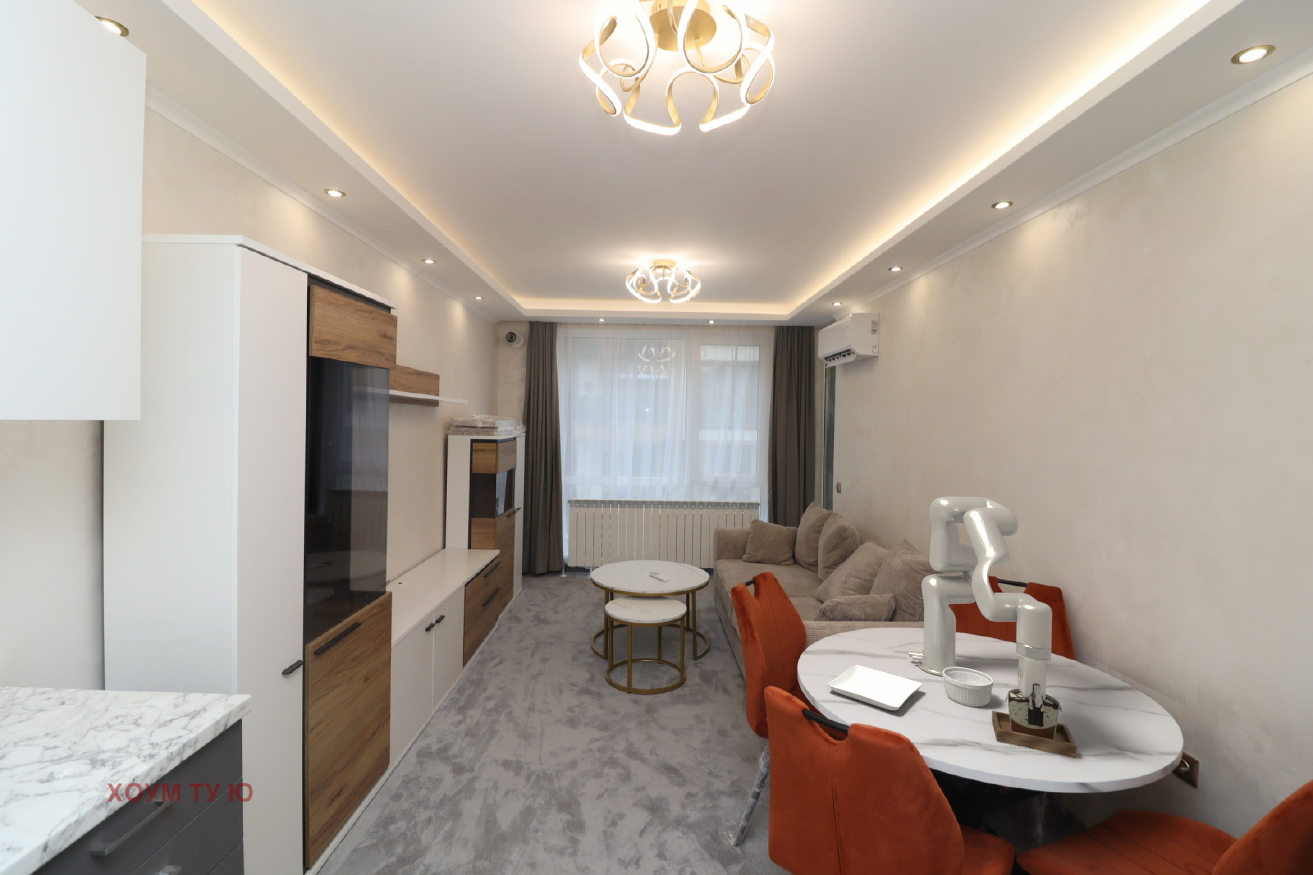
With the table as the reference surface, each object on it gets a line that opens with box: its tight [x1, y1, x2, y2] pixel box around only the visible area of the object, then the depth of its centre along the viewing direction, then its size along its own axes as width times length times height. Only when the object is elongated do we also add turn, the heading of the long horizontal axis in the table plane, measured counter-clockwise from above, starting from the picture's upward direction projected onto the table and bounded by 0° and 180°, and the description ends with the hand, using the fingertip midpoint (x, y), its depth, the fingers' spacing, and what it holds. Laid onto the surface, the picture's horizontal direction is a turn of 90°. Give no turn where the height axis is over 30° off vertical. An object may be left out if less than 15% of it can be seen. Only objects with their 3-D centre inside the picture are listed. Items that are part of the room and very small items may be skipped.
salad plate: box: [827, 664, 923, 711], centre depth 170 cm, size 21×21×3 cm
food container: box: [1004, 688, 1063, 740], centre depth 147 cm, size 12×6×10 cm, turn 68°
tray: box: [991, 710, 1077, 759], centre depth 145 cm, size 17×11×3 cm
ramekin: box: [942, 666, 994, 708], centre depth 168 cm, size 13×13×7 cm
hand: (1031, 716), depth 146 cm, fingers open, 9 cm apart
